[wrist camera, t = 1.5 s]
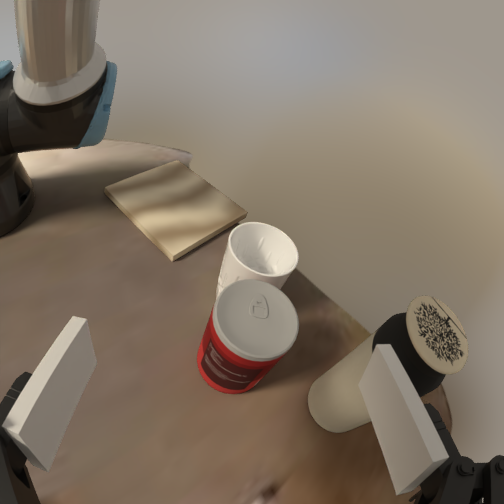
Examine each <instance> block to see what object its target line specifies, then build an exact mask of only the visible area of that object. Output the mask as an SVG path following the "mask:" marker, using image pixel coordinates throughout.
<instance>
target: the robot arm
mask: <svg viewBox="0 0 504 504" xmlns="http://www.w3.org/2000/svg"><path fill="white" fill-rule="evenodd" d="M99 1H100V0H14V7H15V19H16V28H17V36H18V44H19V51H20V57H21V63H20V64H19V65H18V67H17V69H16V71H13V70H12V69H13V65H12V62H11V61H9V60H7V61H1V62H0V236H2V235H4V234H6V233H8V232H10V231H11V230H13V229H14V228H16V227H17V226H18V225H19V224H20V223H21V222H22V221H23V220H24V219H25V218H26V217H27V215H28V214H29V213H30V211H31V209H32V207H33V204H34V199H35V196H34V190H33V185H32V181H31V179H30V177H29V176H28V174H27V172H26V170H25V168H24V167H23V165H22V163H21V161H20V159H19V157H18V153H22V152H30V151H39V150H52V149H68V148H73V149H78V148H80V147H86V146H94V145H97V144H99V143H100V142H101V141H102V139H103V138H104V135H105V132H106V129H107V124H108V120H109V115H110V106H111V102H112V99H113V94H114V88H115V82H116V75H117V66H116V64H115V63H111V62H109V61H106V55H105V52H104V50H103V49H102V47H101V46H100V45H99V44H97V43H96V42H95V37H96V26H97V18H98V10H99ZM96 365H97V360H96V356H95V353H94V348H93V344H92V340H91V336H90V331H89V326H88V322H87V319H85V318H80V317H75V316H73V317H72V318H71V319H70V321H69V322H68V324H67V325H66V326H65V328H64V329H63V330H62V332H61V333H60V335H59V336H58V337H57V339H56V340H55V342H54V343H53V345H52V346H51V347H50V349H49V350H48V352H47V353H46V355H45V356H44V358H43V359H42V361H41V362H40V364H39V365H38V367H37V368H36V370H35V371H34V373H33V374H31V373H28V372H24V373H23V374H22V375H20V376H19V377H18V378H17V379H16V380H15V382H14V383H13V385H12V386H11V389H9V391H8V392H7V394H6V396H5V397H4V399H3V400H2V402H1V404H0V504H40V501H39V499H38V496H37V494H36V491H35V489H34V486H33V483H32V481H31V478H30V475H29V472H28V469H27V467H26V465H25V462H26V460H27V459H28V460H29V461H30V463H31V464H32V465H33V466H35V467H38V468H40V469H42V470H44V471H47V472H49V470H50V468H51V465H52V463H53V460H54V458H55V455H56V453H57V450H58V448H59V445H60V443H61V441H62V438H63V436H64V433H65V431H66V429H67V427H68V424H69V422H70V420H71V417H72V415H73V413H74V411H75V409H76V406H77V404H78V402H79V400H80V398H81V396H82V394H83V391H84V389H85V387H86V385H87V383H88V381H89V379H90V377H91V375H92V373H93V371H94V369H95V367H96ZM358 386H359V389H360V391H361V394H362V397H363V399H364V402H365V405H366V407H367V410H368V413H369V415H370V418H371V421H372V424H373V427H374V429H375V432H376V435H377V438H378V441H379V444H380V446H381V449H382V452H383V455H384V458H385V461H386V464H387V467H388V470H389V473H390V476H391V479H392V482H393V485H394V489H395V492H396V495H399V494H403V493H407V492H410V491H413V490H414V489H415V488H416V487H417V486H419V485H420V486H421V490H420V491H419V492H418V493H417V494H415V495H414V496H413V497H411V499H410V500H409V502H412V501H413V500H414V499H415V498H416V500H415V502H414V504H504V456H501V455H498V456H495V457H494V458H493V459H492V460H491V461H490V462H488V463H474V462H473V461H472V460H471V459H470V458H468V457H464V456H461V455H460V454H459V452H458V450H457V447H456V445H455V444H454V442H453V439H452V437H451V435H450V433H449V432H448V430H447V429H446V426H445V424H444V422H442V418H441V416H440V414H439V412H438V411H437V410H436V409H435V408H434V407H433V406H432V405H431V404H430V403H429V404H423V403H422V401H421V399H420V397H419V395H418V393H417V391H416V390H415V388H414V386H413V384H412V382H411V380H410V378H409V377H408V375H407V373H406V371H405V369H404V368H403V366H402V364H401V362H400V360H399V359H398V357H397V355H396V353H395V352H394V350H393V348H392V346H391V345H390V344H377V345H376V347H375V349H374V352H373V354H372V356H371V358H370V361H369V363H368V365H367V367H366V369H365V372H364V374H363V376H362V378H361V380H360V382H359V384H358ZM483 497H484V499H483V500H484V501H483V503H482V498H483Z"/></svg>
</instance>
